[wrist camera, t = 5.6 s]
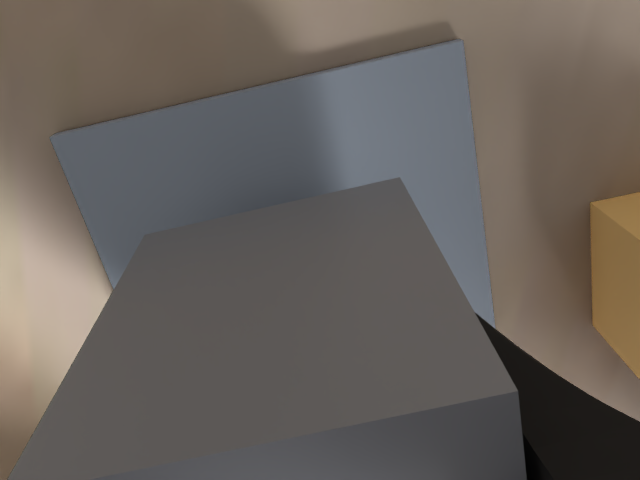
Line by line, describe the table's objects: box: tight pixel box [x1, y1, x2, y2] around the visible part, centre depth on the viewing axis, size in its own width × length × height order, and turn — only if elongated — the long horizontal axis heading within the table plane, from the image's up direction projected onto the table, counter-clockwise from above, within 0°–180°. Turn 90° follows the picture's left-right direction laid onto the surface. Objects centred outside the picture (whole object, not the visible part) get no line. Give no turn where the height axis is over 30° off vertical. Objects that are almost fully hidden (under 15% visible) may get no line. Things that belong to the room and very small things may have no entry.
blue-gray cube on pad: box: [7, 177, 527, 480], centre depth 10 cm, size 6×6×7 cm
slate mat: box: [49, 39, 495, 328], centre depth 16 cm, size 10×10×1 cm
